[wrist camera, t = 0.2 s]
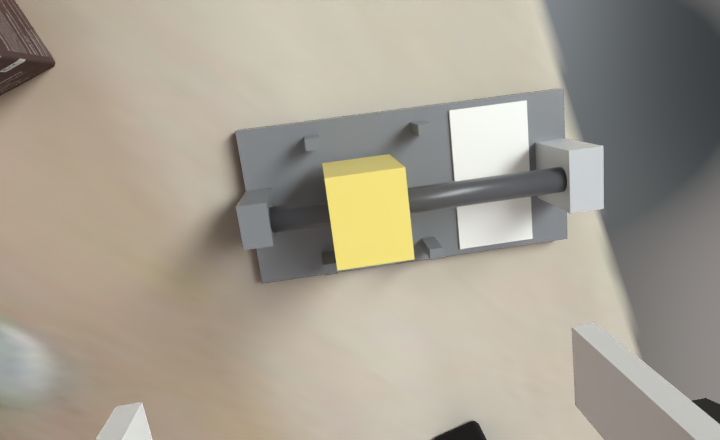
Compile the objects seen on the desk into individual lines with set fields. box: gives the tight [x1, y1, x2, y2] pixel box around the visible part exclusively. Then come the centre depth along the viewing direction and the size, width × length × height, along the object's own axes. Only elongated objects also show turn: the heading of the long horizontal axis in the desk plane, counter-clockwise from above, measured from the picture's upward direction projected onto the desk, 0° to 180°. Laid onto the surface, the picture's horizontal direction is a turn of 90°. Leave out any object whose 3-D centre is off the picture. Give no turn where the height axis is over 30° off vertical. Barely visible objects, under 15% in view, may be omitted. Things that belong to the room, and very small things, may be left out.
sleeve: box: [322, 154, 415, 271], centre depth 36 cm, size 6×5×7 cm
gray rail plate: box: [235, 89, 604, 283], centre depth 39 cm, size 12×25×7 cm, turn 97°
